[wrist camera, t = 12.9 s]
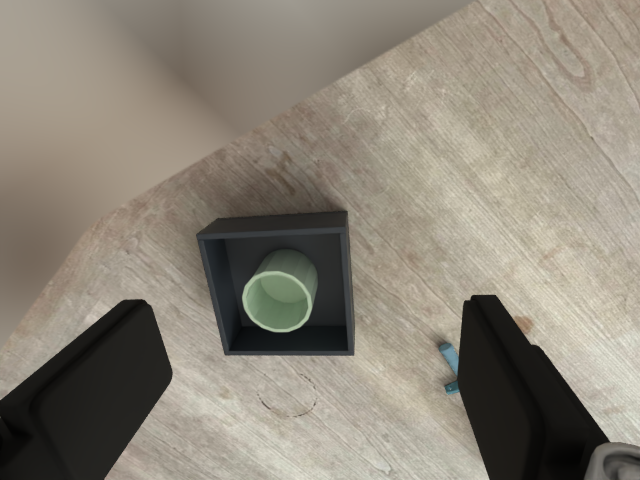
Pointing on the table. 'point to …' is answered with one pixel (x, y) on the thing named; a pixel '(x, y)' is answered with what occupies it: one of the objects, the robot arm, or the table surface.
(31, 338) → the table surface
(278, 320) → the green tumbler
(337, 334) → the dish tub
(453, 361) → the knife
